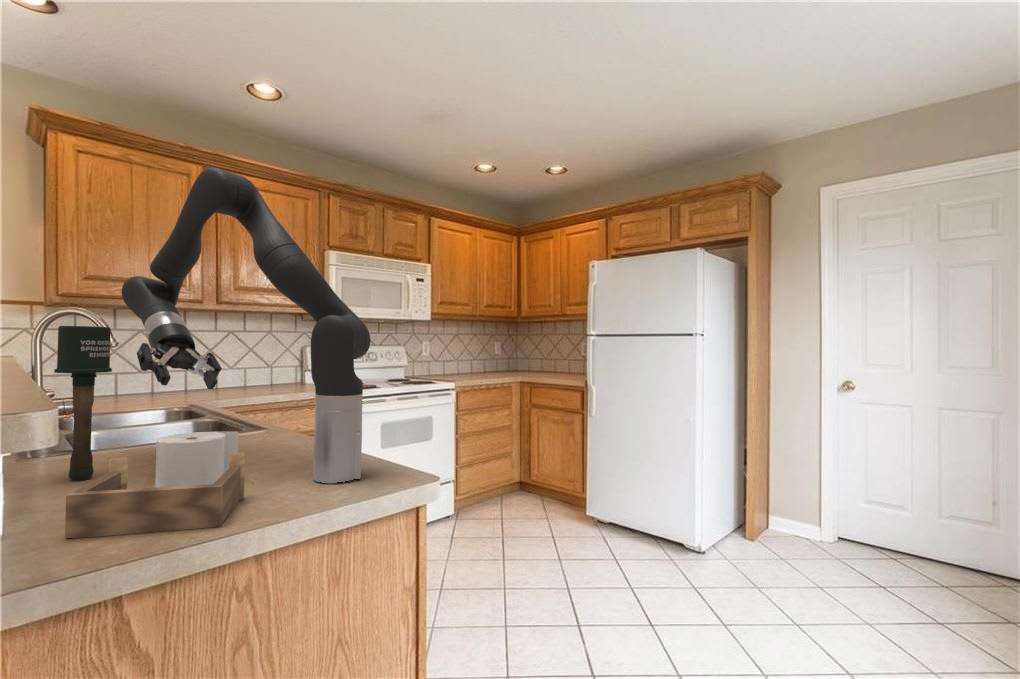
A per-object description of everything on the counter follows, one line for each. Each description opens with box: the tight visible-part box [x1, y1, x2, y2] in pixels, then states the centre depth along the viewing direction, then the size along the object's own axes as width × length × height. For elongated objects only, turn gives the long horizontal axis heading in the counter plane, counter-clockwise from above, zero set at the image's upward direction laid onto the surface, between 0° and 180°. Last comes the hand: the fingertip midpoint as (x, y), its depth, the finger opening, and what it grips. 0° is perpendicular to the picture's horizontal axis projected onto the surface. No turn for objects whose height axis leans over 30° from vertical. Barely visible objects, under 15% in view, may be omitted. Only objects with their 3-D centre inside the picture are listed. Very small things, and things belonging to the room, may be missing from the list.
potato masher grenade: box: [54, 325, 113, 482], centre depth 96 cm, size 8×9×30 cm
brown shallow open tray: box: [64, 451, 246, 540], centre depth 77 cm, size 20×14×8 cm
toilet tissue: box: [154, 430, 240, 488], centre depth 90 cm, size 11×12×10 cm
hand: (190, 384), depth 97 cm, fingers open, 8 cm apart
